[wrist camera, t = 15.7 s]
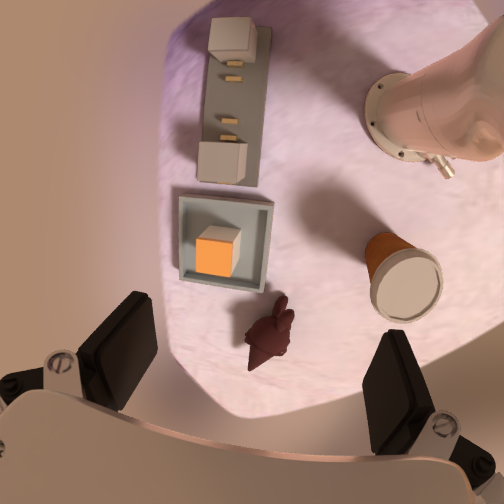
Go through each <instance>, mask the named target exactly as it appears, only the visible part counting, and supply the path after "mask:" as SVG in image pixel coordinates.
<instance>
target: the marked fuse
mask: <svg viewBox="0 0 504 504" xmlns="http://www.w3.org/2000/svg"><path fill="white" fill-rule="evenodd" d="M240 240H241V229H236V228H228V227H220V226H212V225H210V226H209V227H208V228H207V229H206V230H205V231H204V232H203V233H202V234H201V235H200V236H199V237H198V238H197V239H196V272H199V273H206V274H212V275H218V276H224V277H230V276H231V274H232V272H233V270H234V268H235V266H236V264H237V262H238V260H239V253H240Z"/></svg>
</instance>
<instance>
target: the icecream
mask: <svg viewBox="0 0 504 504" xmlns="http://www.w3.org/2000/svg"><path fill="white" fill-rule="evenodd" d="M287 303H288V297H287V296H281V297H279V299H278V300H277V301H276V303H275V306H274V309H273V314H272V316H269V317H265V318H261V319H259V320H258V321H256V322H255V323H254V325H253V326H252V328H251V329H249V330H248V332H247V333H245V336H246V338H245V342H246V343H247V344H249V345H250V352H249V362H248V371H252V370H253V369H255V368H256V367H258V366H259V365H261V364H263V363H264V362H266V361H267V360H269V359H270V358H272V357H273V356H283V355H284V353H286V351H287V346H288V344H289V343H290V339H289V337H290V331H289V330H290V329H291V323H292V321H293V319H294V317H295V315H294V311H293V310H292V309H287V310H285V309H286V306H287Z"/></svg>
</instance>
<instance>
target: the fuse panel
mask: <svg viewBox="0 0 504 504" xmlns="http://www.w3.org/2000/svg"><path fill="white" fill-rule="evenodd" d="M255 28H256V30H257V33H258V38H257V48H256V58H255V63H247V62H243V61H227V62H220V61H219V60H218V59H217V58H216V57H215V56H214V55H213V54H211V53H210V57H209V66H208V75H207V85H206V95H205V107H204V119H203V132H202V142H206V141H218V142H234V143H248V146H247V158H246V170H245V178H243V179H242V180H240V181H239V182H237V183H236V184H232V183H221V182H210V181H200V182H205V183H217V184H228V185H238V186H248V187H258V178H259V167H260V156H261V145H262V134H263V123H264V112H265V101H266V90H267V79H268V68H269V57H270V46H271V35H272V28H271V27H255Z"/></svg>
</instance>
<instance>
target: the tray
mask: <svg viewBox="0 0 504 504" xmlns="http://www.w3.org/2000/svg"><path fill="white" fill-rule="evenodd" d="M273 212H274V203H273V202H265V201H257V200H248V199H239V198H230V197H220V196H209V195H198V194H187V193H185V194H183V195H181V196H179V280H182V281H188V282H194V283H200V284H206V285H212V286H218V287H224V288H230V289H237V290H243V291H250V292H256V293H263V292H264V288H265V282H266V273H267V265H268V256H269V248H270V239H271V230H272V221H273ZM210 225H212V226H220V227H228V228H236V229H241V240H240V253H239V260H238V262H237V264H236V266H235V268H234V270H233V272H232V274H231V276H230V277H224V276H218V275H212V274H206V273H199V272H196V239H197V238H198V237H199V236H200V235H201V234H202V233H203V232H204V231H205V230H206V229H207V228H208V227H209V226H210Z"/></svg>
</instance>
